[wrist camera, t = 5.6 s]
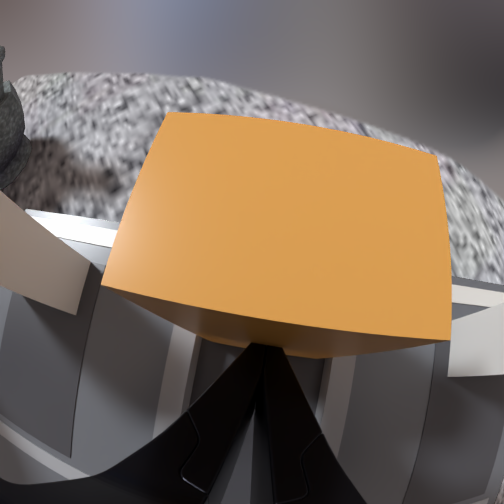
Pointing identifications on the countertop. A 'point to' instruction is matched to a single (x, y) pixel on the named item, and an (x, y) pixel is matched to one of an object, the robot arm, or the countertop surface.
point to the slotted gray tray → (213, 365)
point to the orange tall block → (286, 238)
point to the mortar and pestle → (11, 132)
